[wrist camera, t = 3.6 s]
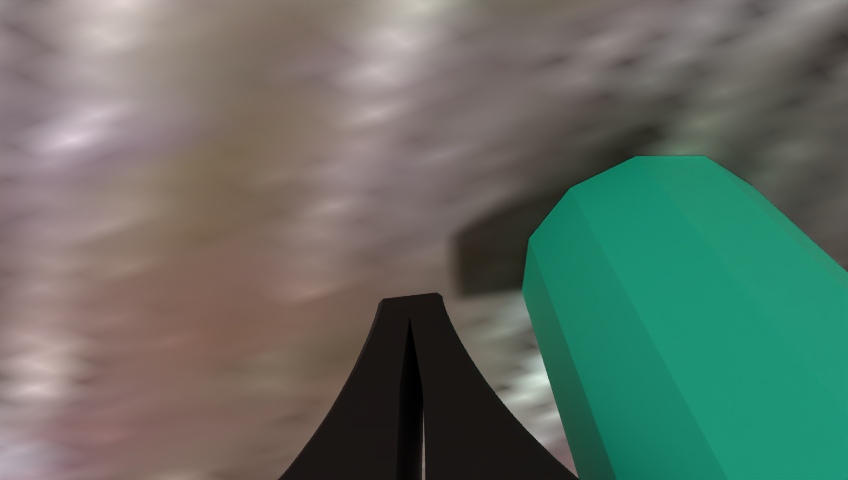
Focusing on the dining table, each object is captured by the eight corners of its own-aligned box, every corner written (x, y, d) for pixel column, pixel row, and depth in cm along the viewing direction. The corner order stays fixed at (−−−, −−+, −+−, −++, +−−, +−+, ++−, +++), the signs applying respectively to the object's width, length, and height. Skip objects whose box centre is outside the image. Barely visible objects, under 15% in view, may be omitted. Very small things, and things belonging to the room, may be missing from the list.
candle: (686, 96, 12) (2049, 1198, 2) (808, 261, 15) (1701, 1124, 5) (470, 265, 14) (659, 1228, 4) (609, 385, 17) (935, 1167, 7)
